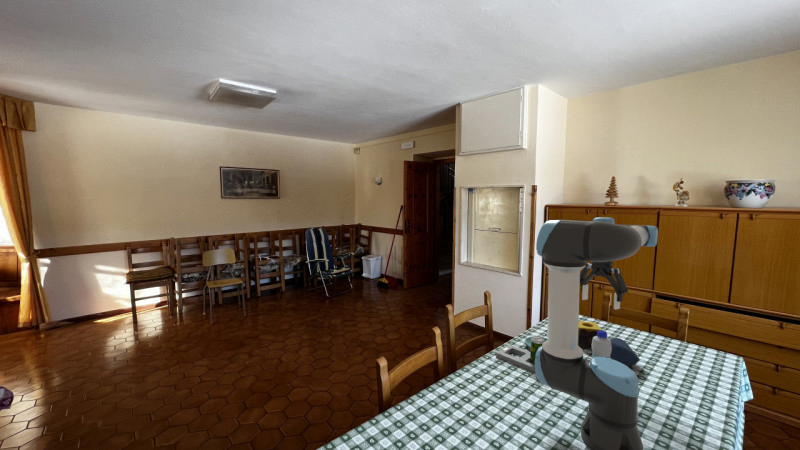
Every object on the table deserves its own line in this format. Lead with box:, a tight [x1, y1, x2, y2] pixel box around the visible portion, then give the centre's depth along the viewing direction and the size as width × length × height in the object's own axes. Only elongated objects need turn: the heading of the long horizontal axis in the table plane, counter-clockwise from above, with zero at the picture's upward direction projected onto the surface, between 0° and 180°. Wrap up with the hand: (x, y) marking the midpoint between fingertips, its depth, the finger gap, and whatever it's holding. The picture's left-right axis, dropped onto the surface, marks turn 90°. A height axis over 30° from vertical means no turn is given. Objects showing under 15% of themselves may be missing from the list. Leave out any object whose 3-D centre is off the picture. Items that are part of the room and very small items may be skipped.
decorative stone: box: [609, 337, 641, 367], centre depth 136 cm, size 12×12×10 cm
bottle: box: [591, 329, 612, 359], centre depth 123 cm, size 7×7×20 cm
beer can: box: [529, 335, 544, 365], centre depth 135 cm, size 5×5×12 cm
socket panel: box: [495, 344, 536, 374], centre depth 139 cm, size 12×22×2 cm, turn 41°
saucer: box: [524, 336, 547, 349], centre depth 152 cm, size 15×15×3 cm
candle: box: [578, 320, 602, 350], centre depth 155 cm, size 10×10×10 cm
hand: (600, 304), depth 134 cm, fingers open, 13 cm apart
